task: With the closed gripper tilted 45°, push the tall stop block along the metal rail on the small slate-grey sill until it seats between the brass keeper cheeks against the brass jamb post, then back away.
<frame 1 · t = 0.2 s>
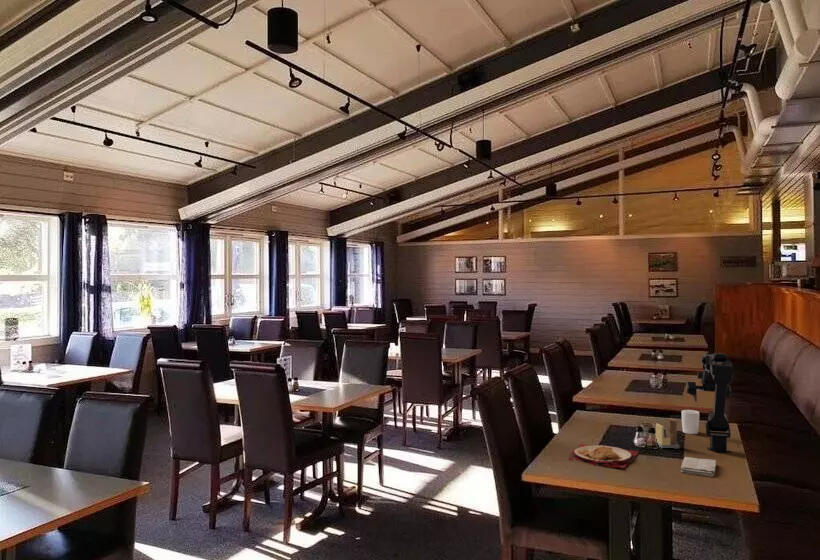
hand: (706, 402, 296), 15 cm above the table, tool tilted 30°, fingers open, 9 cm apart
stop block: (671, 430, 272), point 7 cm above the table, slide at 0.0 cm
white cup: (690, 432, 298), on the table
washcloth: (698, 470, 241), on the table
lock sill: (671, 446, 272), on the table
plate with food: (600, 458, 256), on the table
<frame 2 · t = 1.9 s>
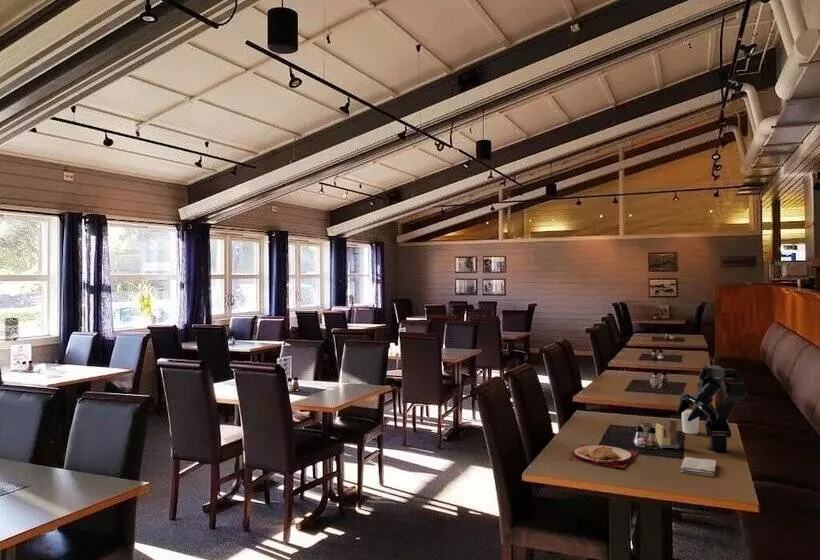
hand: (682, 417, 274), 12 cm above the table, tool tilted 45°, fingers open, 9 cm apart
nothing on the table moved.
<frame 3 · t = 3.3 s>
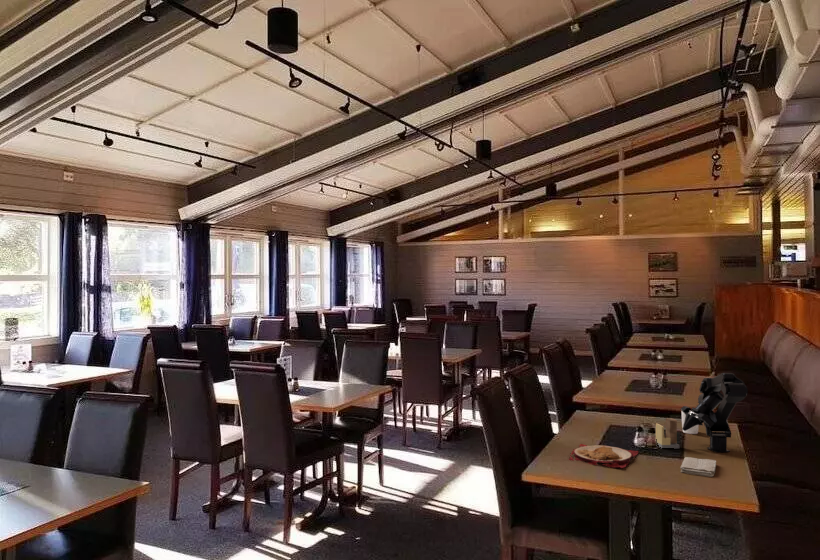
hand: (683, 430, 273), 7 cm above the table, tool tilted 45°, fingers closed
nothing on the table moved.
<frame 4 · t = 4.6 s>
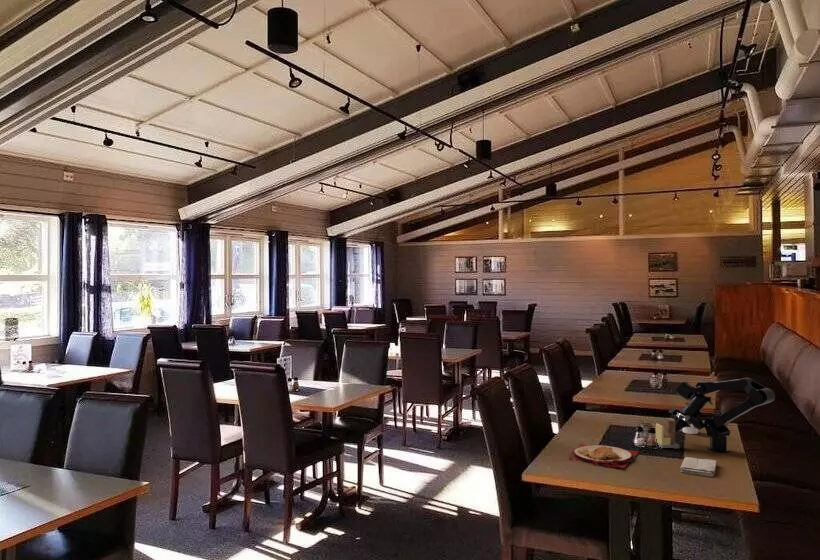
hand: (672, 432, 274), 6 cm above the table, tool tilted 40°, fingers closed, pressing on stop block
stop block: (669, 430, 272), point 7 cm above the table, slide at 0.7 cm, touching gripper
everything else where it was.
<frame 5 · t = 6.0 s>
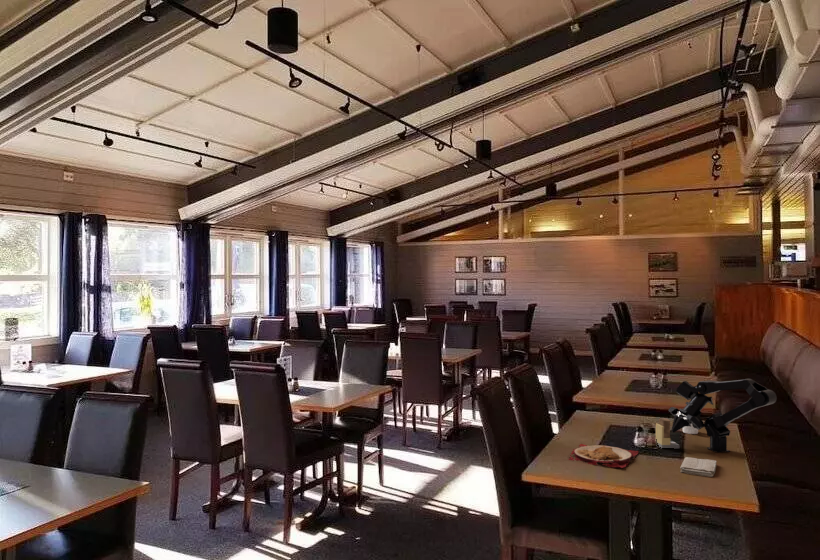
hand: (672, 431, 273), 6 cm above the table, tool tilted 45°, fingers closed
stop block: (664, 430, 272), point 7 cm above the table, slide at 3.0 cm
everything else where it was.
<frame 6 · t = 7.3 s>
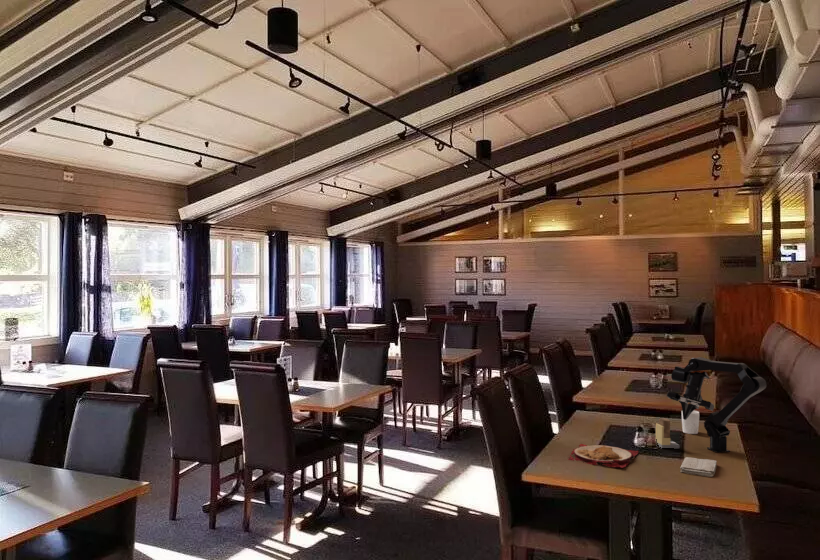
hand: (684, 419, 272), 12 cm above the table, tool tilted 25°, fingers closed
nothing on the table moved.
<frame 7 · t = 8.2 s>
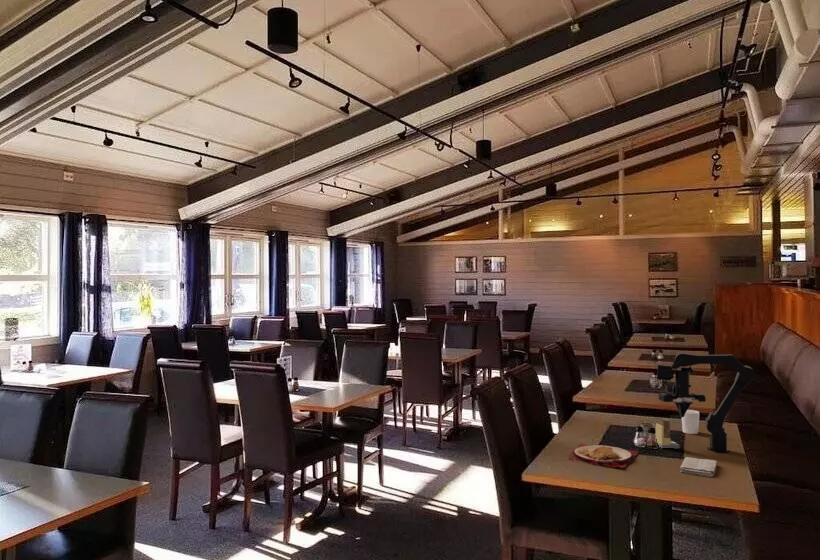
hand: (681, 417, 272), 13 cm above the table, tool pointing down, fingers closed
nothing on the table moved.
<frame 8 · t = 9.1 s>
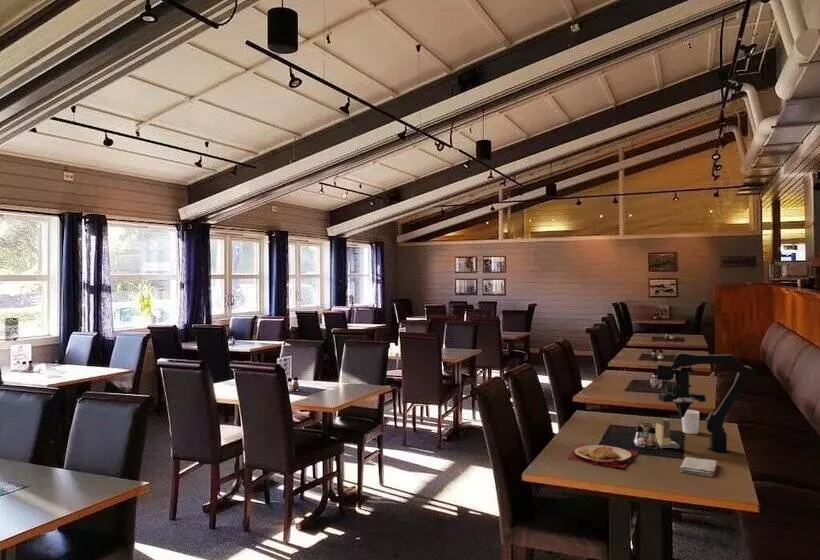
hand: (681, 417, 272), 13 cm above the table, tool pointing down, fingers closed
nothing on the table moved.
at the end: stop block slide at 3.0 cm; stop block moved 3.0 cm from its start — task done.
